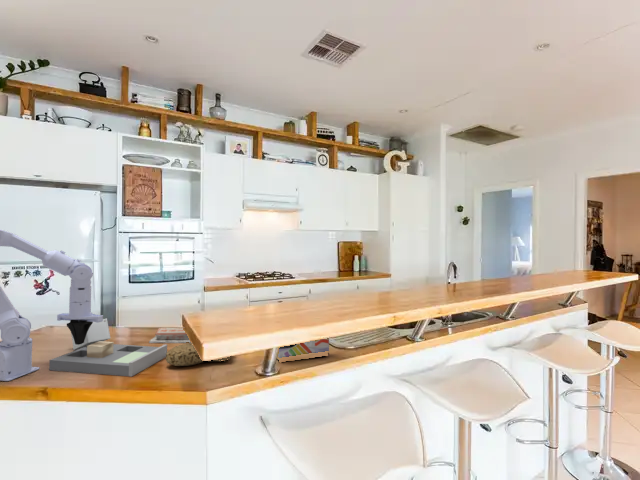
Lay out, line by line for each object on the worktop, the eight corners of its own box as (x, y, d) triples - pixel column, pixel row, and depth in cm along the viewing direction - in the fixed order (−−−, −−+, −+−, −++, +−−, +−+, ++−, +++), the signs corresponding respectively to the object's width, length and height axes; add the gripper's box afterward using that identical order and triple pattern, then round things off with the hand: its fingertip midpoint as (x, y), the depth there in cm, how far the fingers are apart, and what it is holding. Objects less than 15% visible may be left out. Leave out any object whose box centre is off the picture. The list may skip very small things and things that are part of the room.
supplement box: (69, 330, 124) (84, 321, 118) (92, 326, 130) (108, 317, 124) (72, 350, 123) (88, 343, 116) (95, 345, 129) (111, 338, 122)
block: (101, 358, 107) (101, 346, 107) (86, 357, 107) (87, 345, 107) (113, 352, 112) (113, 342, 112) (99, 351, 112) (99, 341, 112)
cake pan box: (276, 364, 113) (277, 310, 113) (272, 359, 118) (273, 307, 118) (329, 358, 120) (331, 307, 120) (324, 353, 125) (325, 304, 125)
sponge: (230, 358, 122) (172, 348, 119) (235, 337, 121) (177, 327, 118) (226, 379, 109) (160, 369, 106) (231, 357, 108) (165, 345, 105)
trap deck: (131, 376, 101) (132, 362, 101) (49, 370, 104) (49, 356, 104) (167, 356, 118) (167, 344, 118) (95, 351, 122) (95, 340, 122)
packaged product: (203, 325, 144) (196, 332, 134) (203, 337, 144) (196, 344, 134) (158, 325, 143) (148, 331, 133) (158, 337, 143) (148, 344, 133)
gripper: (110, 299, 114) (109, 341, 114) (70, 298, 116) (69, 338, 115) (93, 303, 107) (92, 347, 107) (51, 301, 109) (50, 345, 109)
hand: (79, 343), depth 111 cm, fingers closed
